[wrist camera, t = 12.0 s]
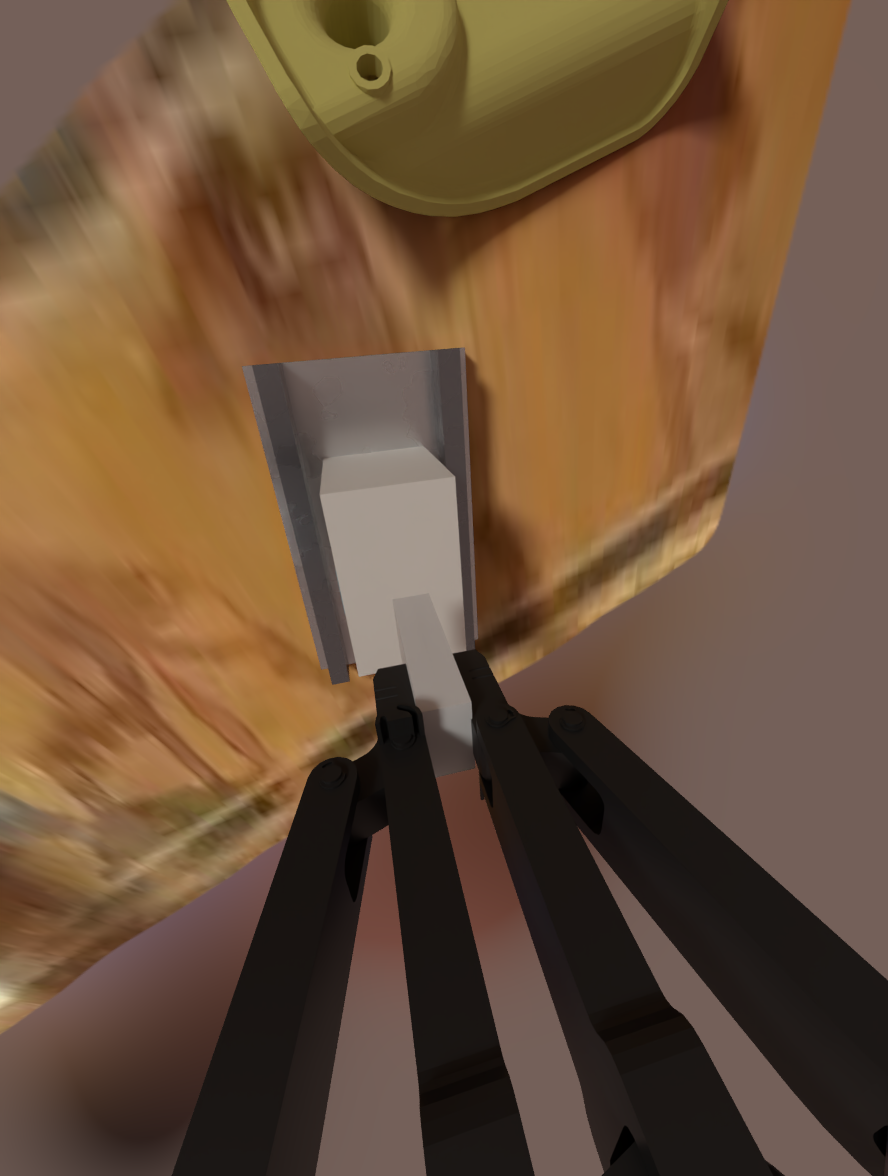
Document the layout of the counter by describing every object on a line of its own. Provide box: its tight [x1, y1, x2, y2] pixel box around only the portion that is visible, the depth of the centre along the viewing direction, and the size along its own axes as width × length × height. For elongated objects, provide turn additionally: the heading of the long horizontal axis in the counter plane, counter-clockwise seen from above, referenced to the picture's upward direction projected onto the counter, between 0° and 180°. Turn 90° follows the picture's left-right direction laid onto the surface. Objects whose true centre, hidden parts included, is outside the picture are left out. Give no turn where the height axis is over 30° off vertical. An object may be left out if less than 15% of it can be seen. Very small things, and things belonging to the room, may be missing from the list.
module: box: [320, 446, 466, 677], centre depth 25 cm, size 6×10×8 cm, turn 5°
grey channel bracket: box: [242, 348, 478, 685], centre depth 28 cm, size 12×20×3 cm, turn 5°
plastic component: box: [227, 0, 728, 217], centre depth 19 cm, size 20×7×10 cm
